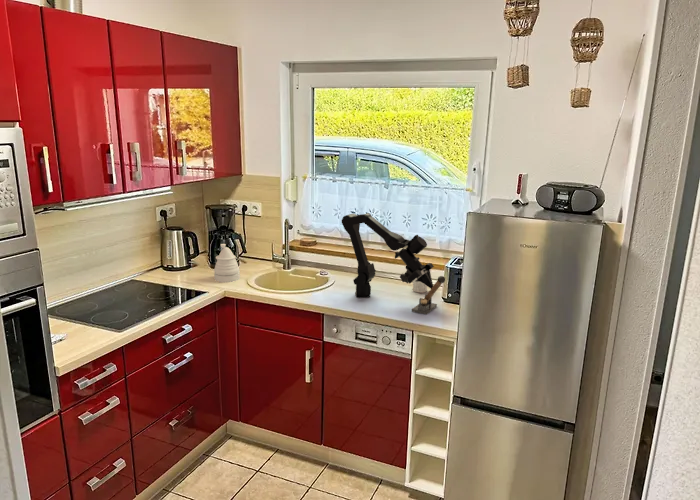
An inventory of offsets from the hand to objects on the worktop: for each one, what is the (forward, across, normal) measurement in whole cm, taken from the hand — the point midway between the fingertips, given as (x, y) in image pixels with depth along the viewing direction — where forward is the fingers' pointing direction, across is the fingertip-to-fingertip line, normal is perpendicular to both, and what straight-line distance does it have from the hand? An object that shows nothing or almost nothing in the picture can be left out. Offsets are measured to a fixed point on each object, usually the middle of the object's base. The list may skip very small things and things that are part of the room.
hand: (432, 288), depth 230 cm
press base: (+5, +2, -8) cm, 10 cm away
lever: (+3, 0, -7) cm, 7 cm away
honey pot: (-68, +13, -83) cm, 108 cm away
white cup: (-3, -22, -17) cm, 27 cm away
